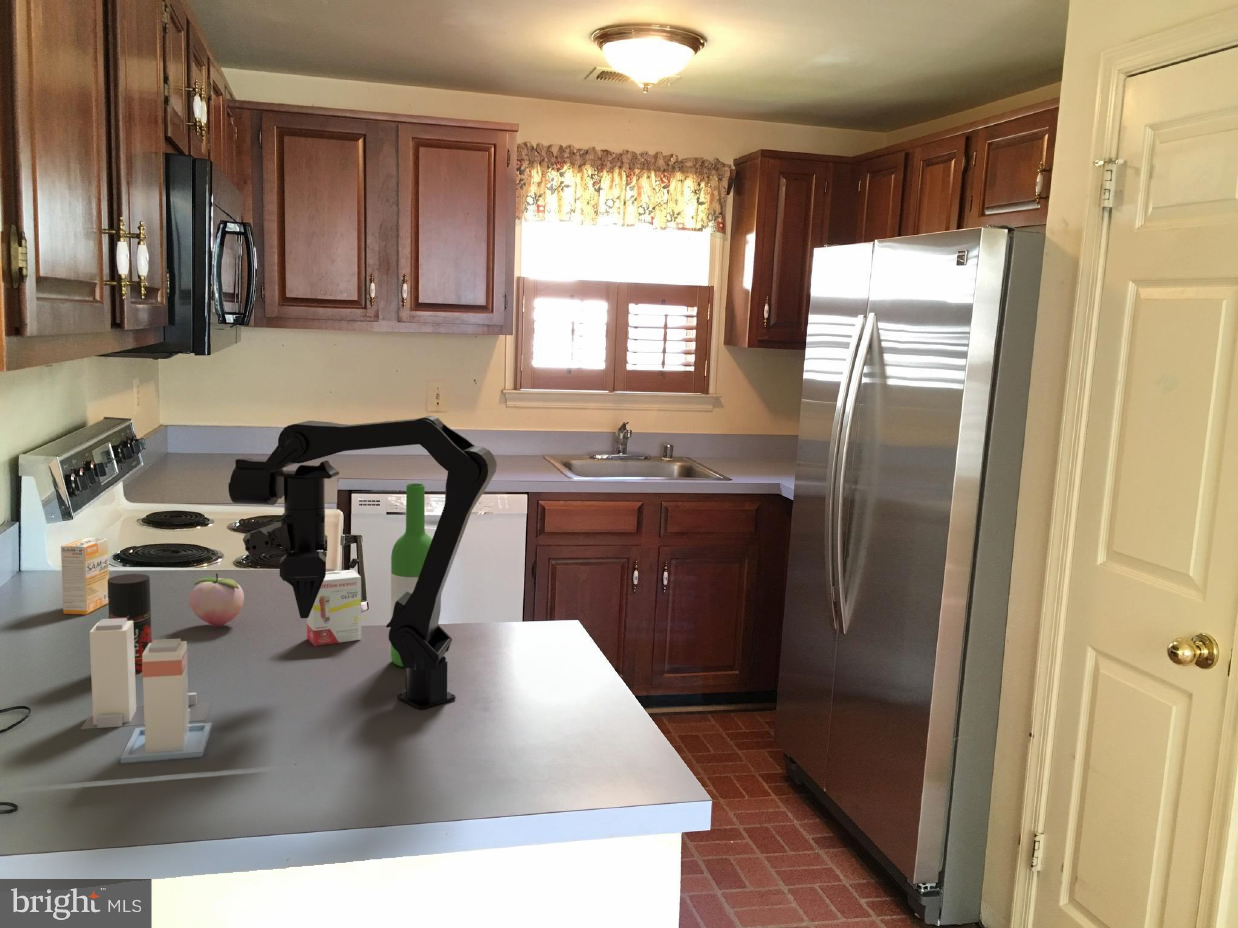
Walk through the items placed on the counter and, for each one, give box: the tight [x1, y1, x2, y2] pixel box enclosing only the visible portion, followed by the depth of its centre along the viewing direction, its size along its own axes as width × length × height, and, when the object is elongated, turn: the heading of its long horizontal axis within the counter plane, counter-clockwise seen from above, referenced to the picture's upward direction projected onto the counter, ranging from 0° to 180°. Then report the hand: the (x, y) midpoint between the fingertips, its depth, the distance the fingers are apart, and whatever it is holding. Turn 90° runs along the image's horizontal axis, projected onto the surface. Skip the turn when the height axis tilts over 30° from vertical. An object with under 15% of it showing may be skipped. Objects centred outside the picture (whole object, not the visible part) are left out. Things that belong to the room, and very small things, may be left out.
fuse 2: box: [141, 638, 190, 753], centre depth 126 cm, size 5×5×14 cm
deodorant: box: [107, 573, 153, 675], centre depth 153 cm, size 6×6×15 cm
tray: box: [120, 722, 213, 765], centre depth 127 cm, size 9×9×1 cm
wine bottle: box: [390, 482, 433, 668], centre depth 161 cm, size 8×8×30 cm
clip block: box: [80, 692, 212, 730], centre depth 136 cm, size 16×7×2 cm, turn 106°
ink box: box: [306, 569, 362, 647], centre depth 172 cm, size 9×5×12 cm, turn 120°
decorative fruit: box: [189, 572, 245, 628], centre depth 177 cm, size 9×8×10 cm
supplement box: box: [60, 537, 110, 616], centre depth 185 cm, size 8×5×13 cm, turn 179°
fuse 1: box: [89, 618, 137, 725], centre depth 134 cm, size 4×4×14 cm
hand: (305, 609), depth 146 cm, fingers open, 9 cm apart
